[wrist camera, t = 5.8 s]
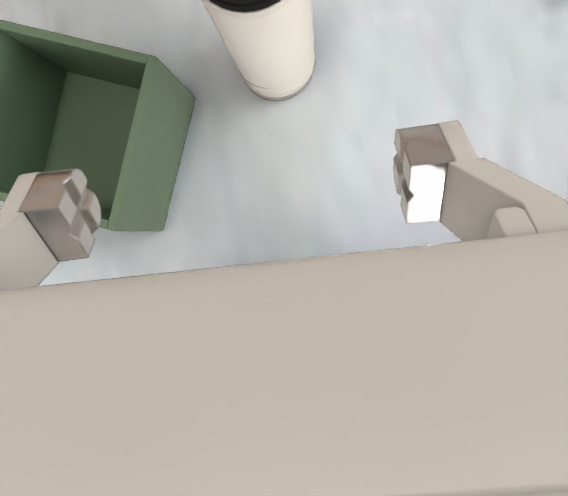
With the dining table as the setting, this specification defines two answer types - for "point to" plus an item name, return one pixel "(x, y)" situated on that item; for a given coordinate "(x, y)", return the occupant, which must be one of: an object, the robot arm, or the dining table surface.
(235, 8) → the travel mug
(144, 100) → the waste bin
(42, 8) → the dining table surface
